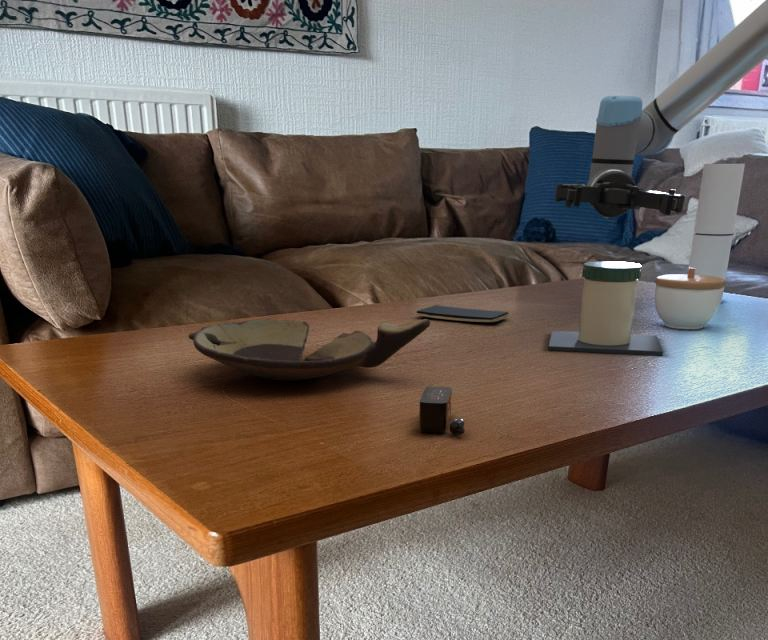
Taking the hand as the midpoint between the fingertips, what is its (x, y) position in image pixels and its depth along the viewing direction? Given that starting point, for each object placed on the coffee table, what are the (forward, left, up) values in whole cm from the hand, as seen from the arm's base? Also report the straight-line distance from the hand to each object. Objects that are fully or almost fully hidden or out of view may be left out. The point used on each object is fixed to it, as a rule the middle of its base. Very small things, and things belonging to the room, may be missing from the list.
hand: (623, 201), depth 119 cm
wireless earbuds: (+18, +56, -20) cm, 62 cm away
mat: (+1, +10, -20) cm, 22 cm away
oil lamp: (+39, +39, -20) cm, 59 cm away
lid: (+1, +10, -9) cm, 13 cm away
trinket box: (-12, -8, -20) cm, 25 cm away
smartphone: (+25, -7, -20) cm, 33 cm away
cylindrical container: (-19, -38, -20) cm, 47 cm away
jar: (+1, +10, -19) cm, 22 cm away
